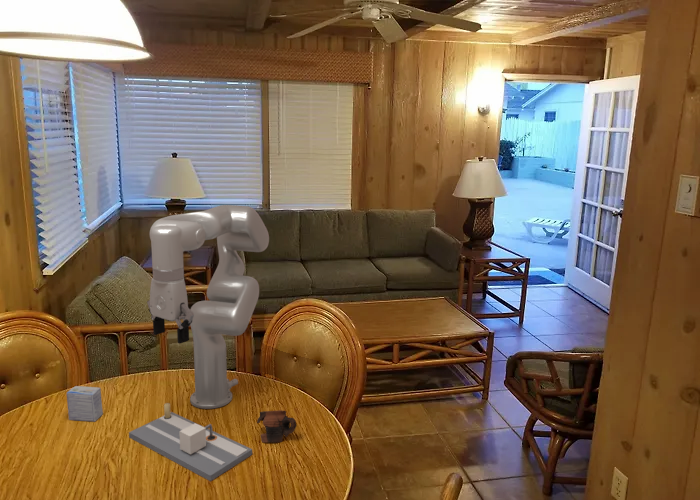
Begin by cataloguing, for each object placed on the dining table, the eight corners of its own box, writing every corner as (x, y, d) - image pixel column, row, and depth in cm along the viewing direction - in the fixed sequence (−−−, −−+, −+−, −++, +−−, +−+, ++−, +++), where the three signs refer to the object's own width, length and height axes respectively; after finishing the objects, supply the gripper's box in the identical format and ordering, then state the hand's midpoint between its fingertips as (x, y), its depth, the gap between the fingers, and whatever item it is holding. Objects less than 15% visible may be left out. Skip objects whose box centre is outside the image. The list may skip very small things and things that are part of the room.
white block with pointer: (207, 434, 148) (206, 417, 147) (217, 439, 146) (217, 421, 145) (180, 449, 141) (179, 431, 140) (190, 454, 139) (190, 436, 138)
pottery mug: (250, 443, 149) (250, 412, 152) (267, 442, 158) (267, 412, 160) (290, 441, 145) (289, 409, 148) (305, 440, 154) (305, 409, 156)
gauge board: (172, 416, 161) (171, 398, 160) (252, 454, 143) (252, 434, 142) (129, 437, 150) (127, 417, 148) (210, 481, 132) (209, 459, 131)
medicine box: (103, 414, 161) (101, 387, 159) (94, 422, 157) (92, 394, 155) (77, 412, 162) (75, 385, 160) (68, 420, 157) (65, 392, 156)
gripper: (134, 271, 143) (138, 334, 147) (178, 283, 134) (181, 349, 137) (159, 266, 149) (162, 326, 153) (202, 277, 140) (204, 341, 143)
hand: (171, 337), depth 145 cm, fingers open, 9 cm apart
